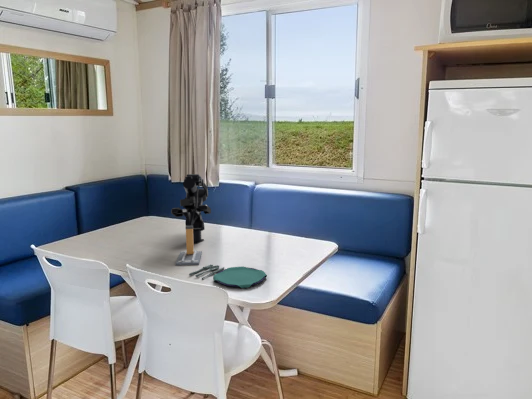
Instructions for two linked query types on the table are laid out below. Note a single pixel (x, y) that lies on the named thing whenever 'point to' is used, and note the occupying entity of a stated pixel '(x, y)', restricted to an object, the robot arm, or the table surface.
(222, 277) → the cutlery set
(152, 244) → the table surface
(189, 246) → the tan wooden bar
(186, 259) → the board
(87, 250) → the table surface
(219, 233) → the table surface
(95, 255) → the table surface
